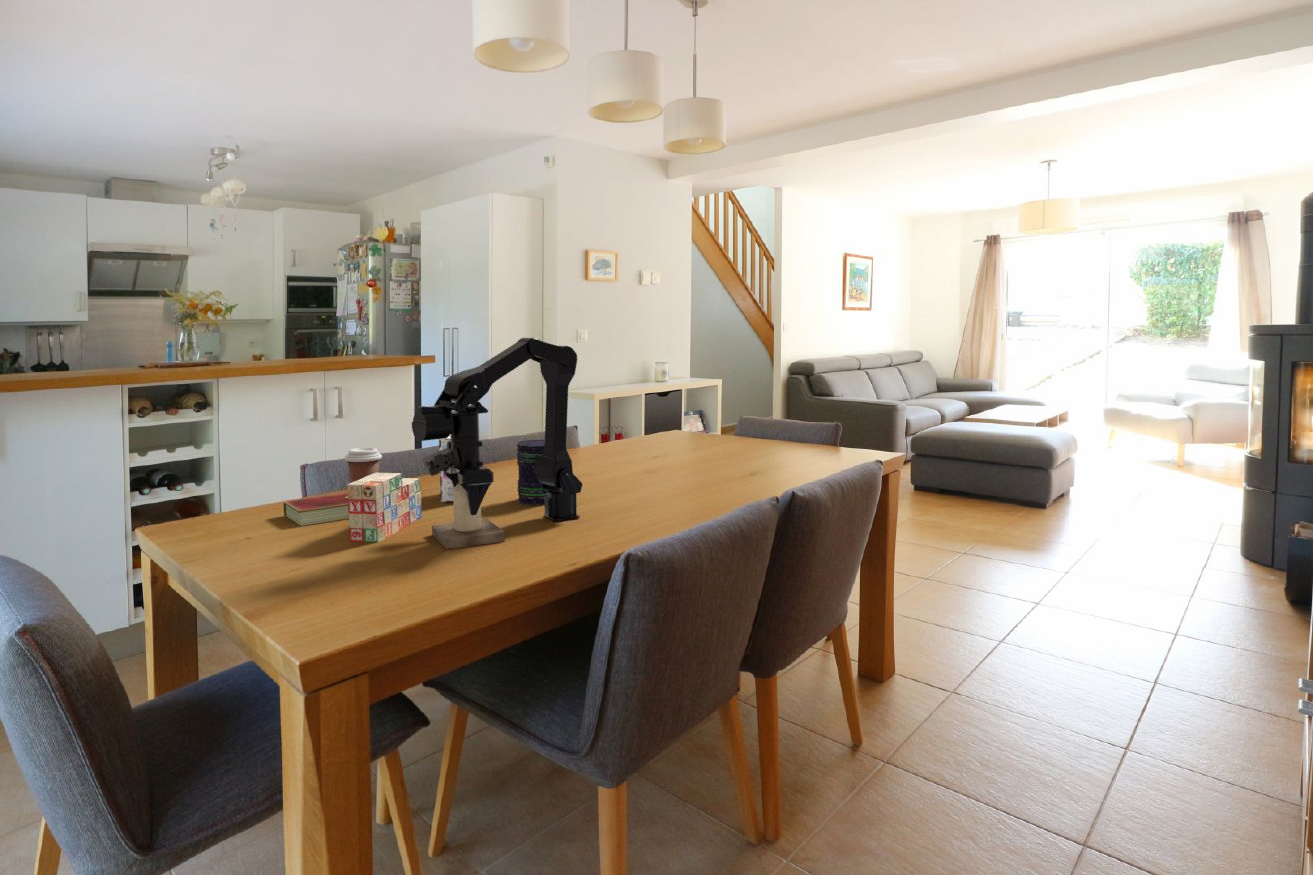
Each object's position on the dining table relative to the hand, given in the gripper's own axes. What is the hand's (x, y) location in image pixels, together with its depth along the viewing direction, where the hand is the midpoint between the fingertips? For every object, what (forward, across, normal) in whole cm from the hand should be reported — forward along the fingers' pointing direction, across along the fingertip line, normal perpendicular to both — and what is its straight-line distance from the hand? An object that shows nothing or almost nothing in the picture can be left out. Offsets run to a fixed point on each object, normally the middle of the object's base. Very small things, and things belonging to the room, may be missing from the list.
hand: (467, 510), depth 157 cm
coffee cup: (+6, -53, -12) cm, 55 cm away
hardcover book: (+7, -35, -21) cm, 41 cm away
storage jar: (+6, -26, +25) cm, 36 cm away
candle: (+4, 0, 0) cm, 4 cm away
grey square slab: (+6, 0, 0) cm, 6 cm away
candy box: (+6, -39, +9) cm, 41 cm away
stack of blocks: (+6, -16, -13) cm, 22 cm away
